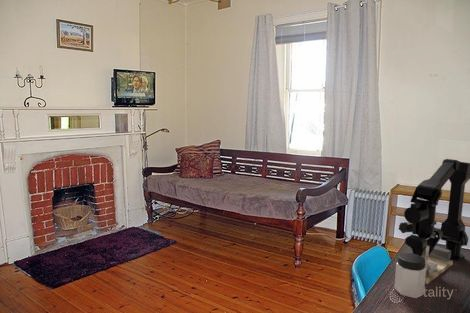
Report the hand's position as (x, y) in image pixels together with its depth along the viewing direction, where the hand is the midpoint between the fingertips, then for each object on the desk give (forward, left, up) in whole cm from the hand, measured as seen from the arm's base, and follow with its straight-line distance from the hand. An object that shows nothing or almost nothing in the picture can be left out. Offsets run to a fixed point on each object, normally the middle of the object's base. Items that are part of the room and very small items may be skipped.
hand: (422, 258), depth 132 cm
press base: (-5, 0, -6) cm, 8 cm away
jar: (+17, +3, -6) cm, 18 cm away
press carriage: (0, 0, -4) cm, 4 cm away
